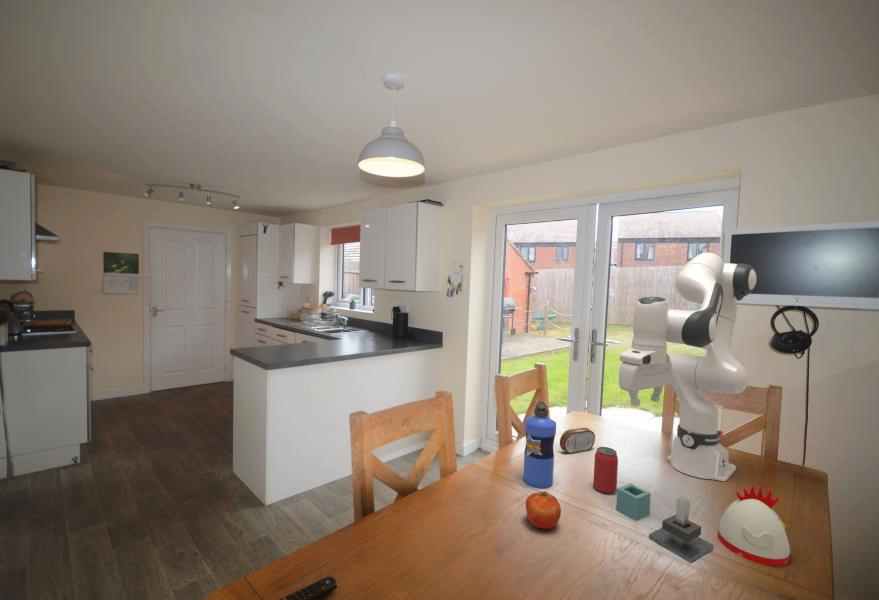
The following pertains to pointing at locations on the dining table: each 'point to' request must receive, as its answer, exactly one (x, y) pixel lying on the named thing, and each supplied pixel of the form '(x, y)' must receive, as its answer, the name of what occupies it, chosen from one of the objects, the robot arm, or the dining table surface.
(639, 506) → the sleeve
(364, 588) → the dining table surface
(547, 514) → the tomato
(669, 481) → the dining table surface
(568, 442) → the tin
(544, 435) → the water bottle
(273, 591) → the dining table surface
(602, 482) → the beer can
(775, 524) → the kitchen timer
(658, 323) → the robot arm
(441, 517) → the dining table surface
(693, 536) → the ring
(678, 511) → the pipe stand
